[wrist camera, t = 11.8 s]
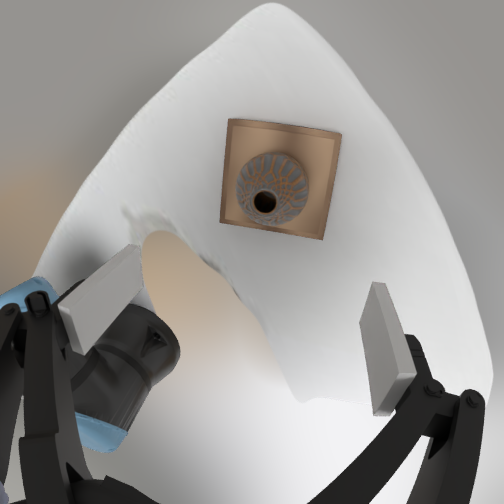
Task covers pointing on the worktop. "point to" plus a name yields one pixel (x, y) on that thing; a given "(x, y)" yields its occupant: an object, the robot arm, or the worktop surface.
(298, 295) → the worktop surface
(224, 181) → the tray
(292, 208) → the vase
